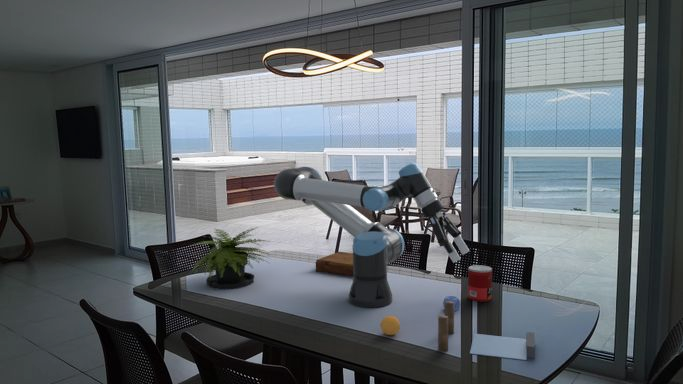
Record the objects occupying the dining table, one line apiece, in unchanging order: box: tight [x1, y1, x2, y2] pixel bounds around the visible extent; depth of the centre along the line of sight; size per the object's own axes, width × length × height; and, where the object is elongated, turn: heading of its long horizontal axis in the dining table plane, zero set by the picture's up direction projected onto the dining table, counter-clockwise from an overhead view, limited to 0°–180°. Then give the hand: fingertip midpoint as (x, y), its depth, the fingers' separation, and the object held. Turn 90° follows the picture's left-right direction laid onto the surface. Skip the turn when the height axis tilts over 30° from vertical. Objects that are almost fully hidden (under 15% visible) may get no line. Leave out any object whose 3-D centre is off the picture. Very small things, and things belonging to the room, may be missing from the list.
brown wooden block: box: [315, 251, 354, 278], centre depth 222 cm, size 23×19×6 cm
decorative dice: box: [442, 295, 461, 312], centre depth 169 cm, size 4×4×4 cm
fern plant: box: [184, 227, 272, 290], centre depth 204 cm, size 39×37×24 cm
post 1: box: [437, 314, 449, 353], centre depth 137 cm, size 3×3×9 cm
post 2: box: [444, 301, 455, 335], centre depth 149 cm, size 3×3×9 cm
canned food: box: [467, 264, 493, 303], centre depth 180 cm, size 8×8×11 cm
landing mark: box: [469, 333, 528, 361], centre depth 139 cm, size 14×14×1 cm
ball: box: [380, 315, 401, 336], centre depth 149 cm, size 6×6×6 cm
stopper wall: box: [525, 331, 536, 359], centre depth 136 cm, size 2×10×3 cm, turn 161°
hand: (461, 256), depth 177 cm, fingers open, 13 cm apart
